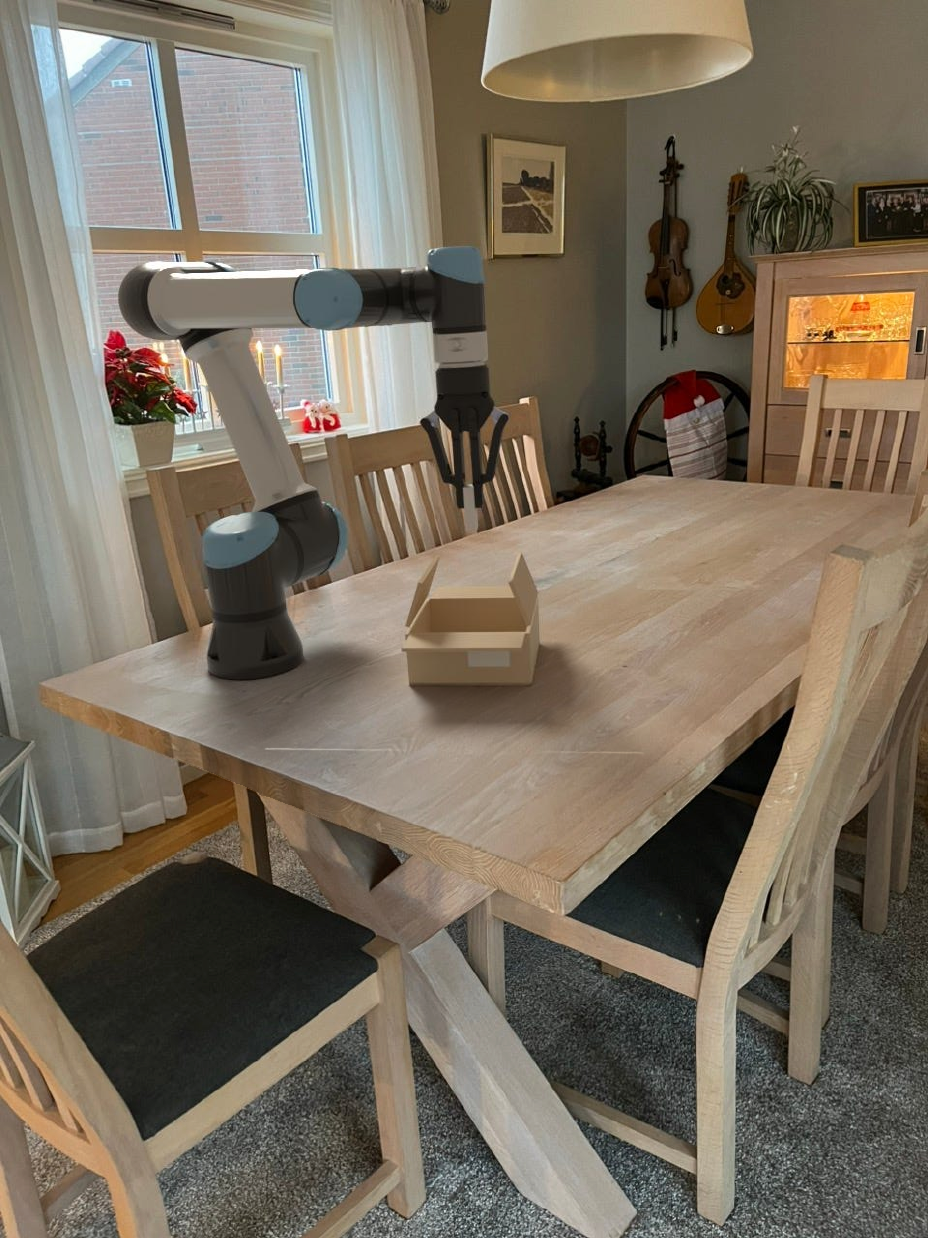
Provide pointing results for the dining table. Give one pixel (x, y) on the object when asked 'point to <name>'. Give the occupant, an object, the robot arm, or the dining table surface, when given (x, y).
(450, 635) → the carton
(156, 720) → the dining table surface
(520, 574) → the flap
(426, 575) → the flap
